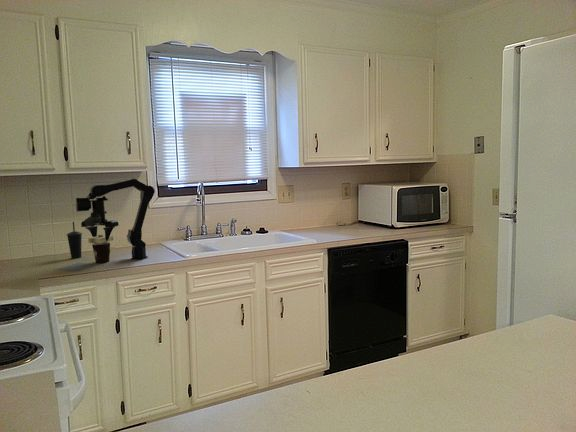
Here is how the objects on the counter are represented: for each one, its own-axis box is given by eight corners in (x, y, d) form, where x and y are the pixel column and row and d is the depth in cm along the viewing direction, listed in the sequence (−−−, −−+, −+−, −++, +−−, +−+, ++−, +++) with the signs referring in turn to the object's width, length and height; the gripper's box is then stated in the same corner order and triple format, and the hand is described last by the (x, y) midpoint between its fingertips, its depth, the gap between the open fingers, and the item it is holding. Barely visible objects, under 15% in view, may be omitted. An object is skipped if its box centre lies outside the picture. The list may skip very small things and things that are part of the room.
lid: (113, 240, 245) (112, 233, 244) (100, 243, 235) (99, 236, 235) (102, 239, 247) (101, 233, 246) (88, 243, 237) (88, 236, 237)
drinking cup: (69, 257, 260) (66, 221, 257) (84, 256, 262) (81, 220, 260) (68, 260, 253) (64, 223, 250) (83, 259, 255) (80, 222, 253)
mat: (100, 264, 239) (100, 263, 239) (77, 271, 224) (77, 271, 224) (77, 263, 244) (77, 262, 244) (53, 270, 229) (53, 269, 229)
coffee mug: (93, 262, 246) (91, 243, 245) (111, 260, 249) (109, 241, 248) (94, 266, 235) (92, 246, 234) (112, 264, 239) (111, 244, 238)
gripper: (71, 211, 235) (74, 242, 236) (102, 211, 229) (105, 243, 230) (87, 209, 245) (90, 239, 247) (118, 209, 239) (120, 239, 241)
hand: (101, 240), depth 241 cm, fingers closed on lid, 7 cm apart
